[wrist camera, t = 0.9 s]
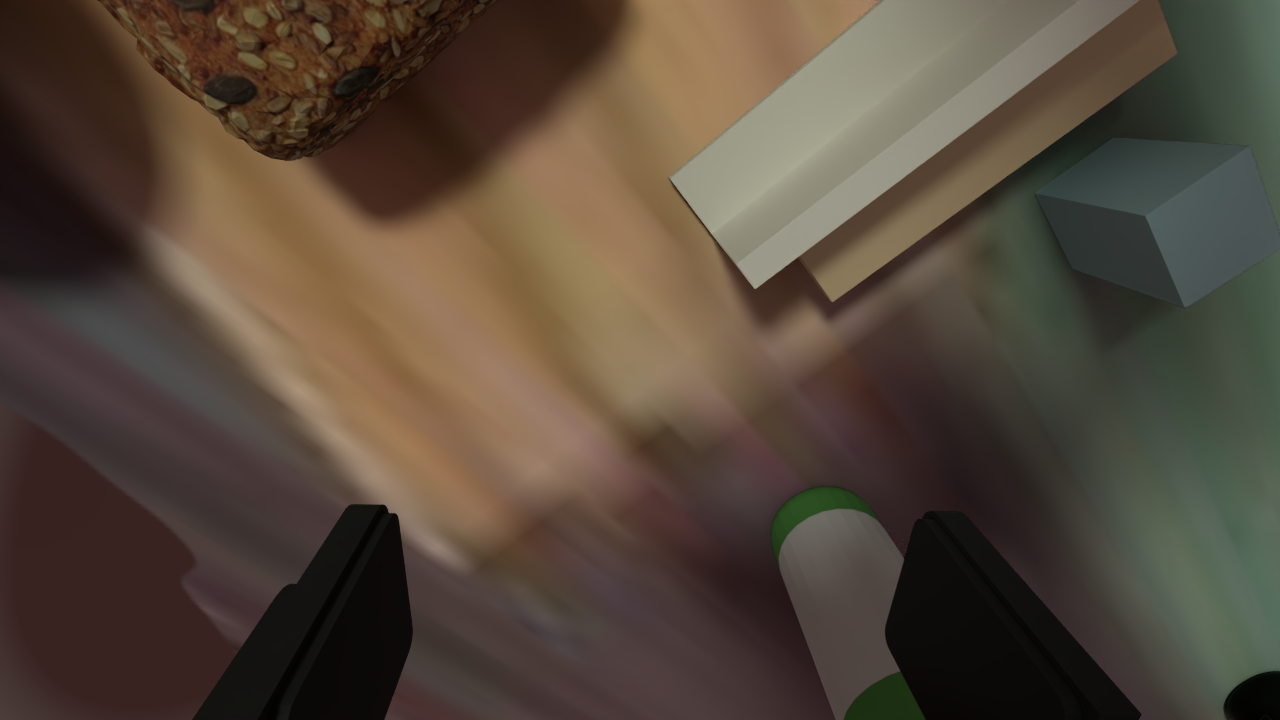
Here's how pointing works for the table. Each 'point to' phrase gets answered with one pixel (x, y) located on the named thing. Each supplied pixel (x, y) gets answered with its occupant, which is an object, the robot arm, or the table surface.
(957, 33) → the wall shelf
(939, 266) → the table surface
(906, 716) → the wine bottle
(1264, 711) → the supplement bottle
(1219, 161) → the cabinet block
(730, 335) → the table surface
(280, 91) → the bread
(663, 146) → the table surface
